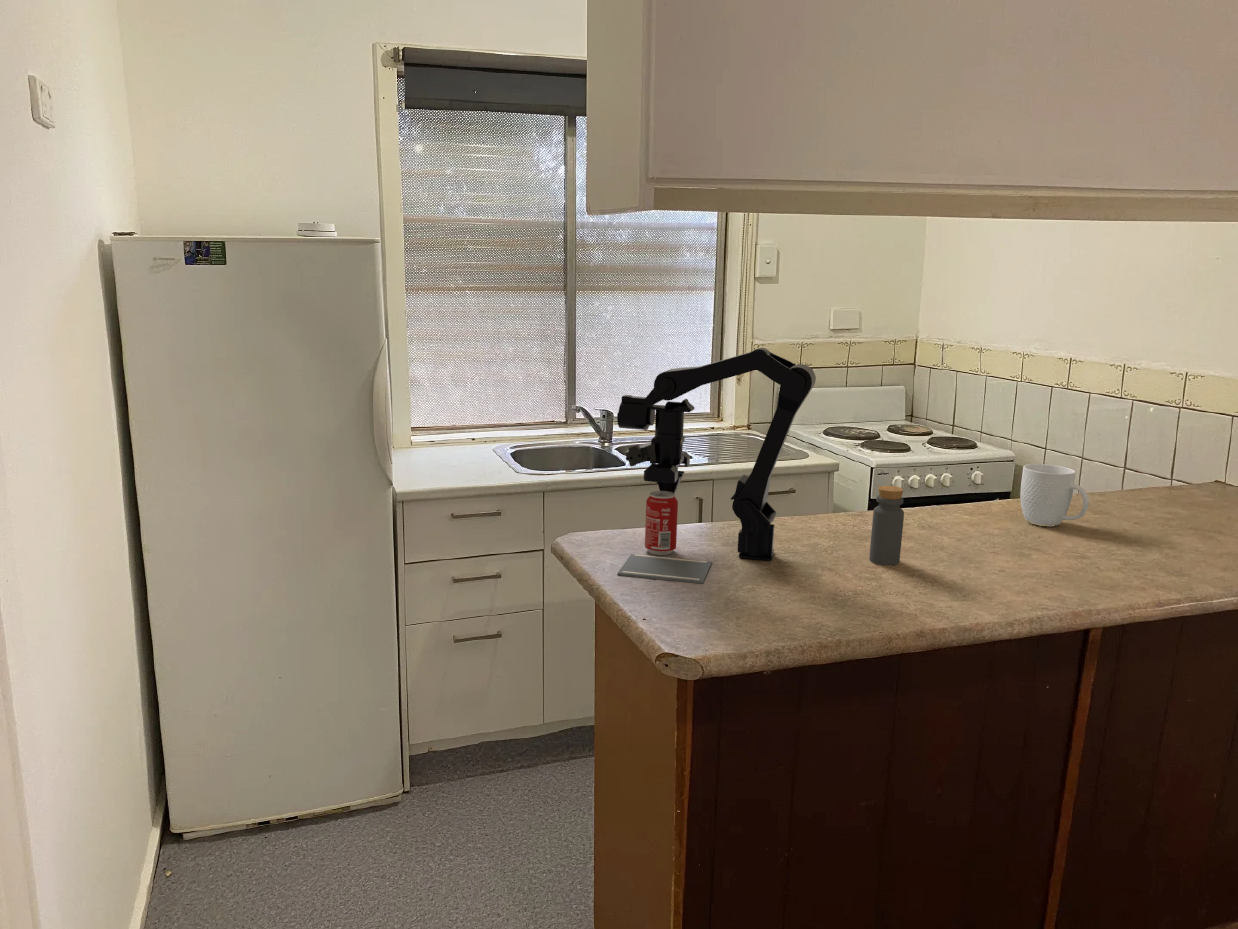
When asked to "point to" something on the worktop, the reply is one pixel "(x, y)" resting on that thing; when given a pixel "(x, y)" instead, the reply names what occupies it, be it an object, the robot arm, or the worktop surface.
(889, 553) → the bottle
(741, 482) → the robot arm
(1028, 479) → the mug
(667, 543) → the beverage can
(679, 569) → the mat
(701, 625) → the worktop surface
